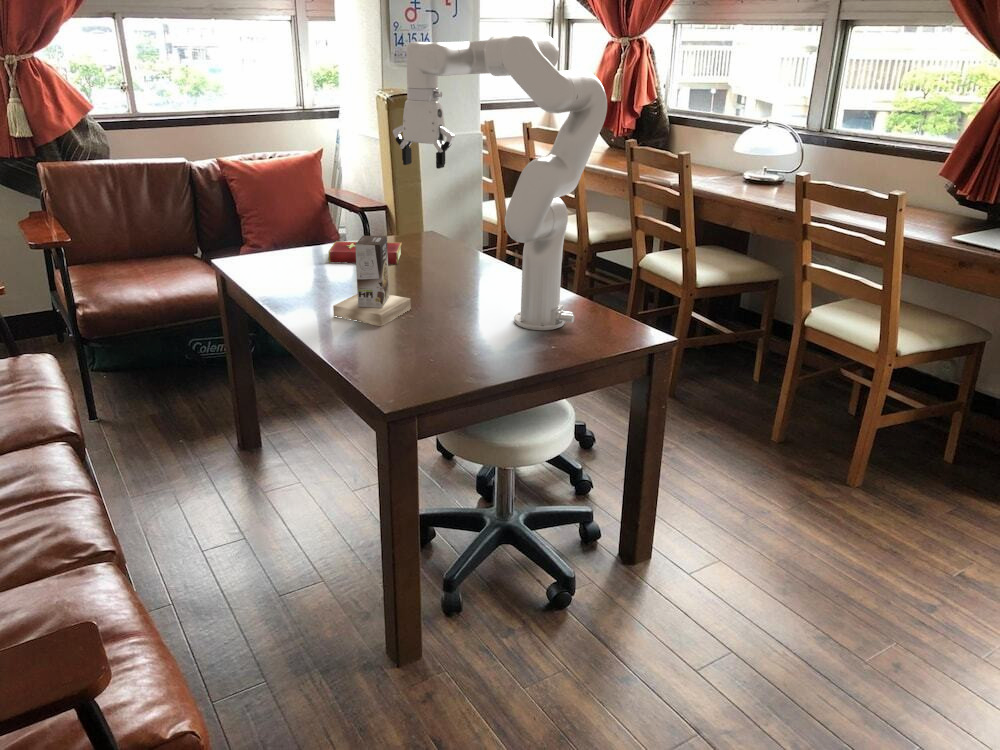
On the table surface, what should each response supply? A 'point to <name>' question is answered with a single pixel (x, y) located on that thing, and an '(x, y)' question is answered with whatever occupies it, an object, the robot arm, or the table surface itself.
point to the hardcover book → (348, 252)
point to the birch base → (372, 310)
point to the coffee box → (372, 271)
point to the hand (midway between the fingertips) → (423, 166)
